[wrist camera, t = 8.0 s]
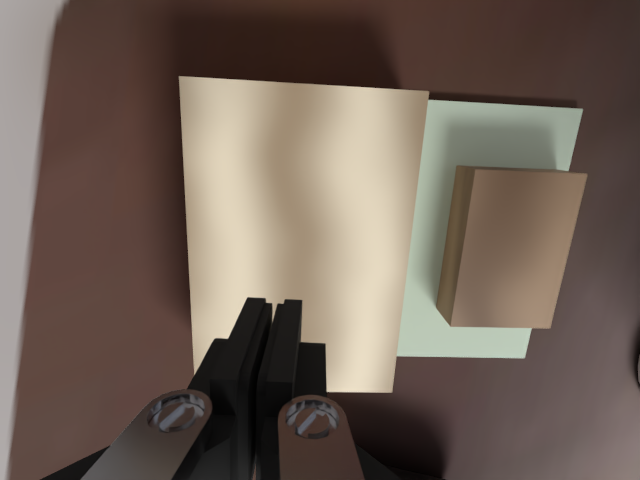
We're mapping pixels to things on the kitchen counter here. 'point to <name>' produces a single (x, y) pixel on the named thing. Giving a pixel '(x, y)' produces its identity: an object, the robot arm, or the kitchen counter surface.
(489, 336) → the mat
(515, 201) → the brown box
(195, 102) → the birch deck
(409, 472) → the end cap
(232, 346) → the robot arm
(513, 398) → the kitchen counter surface
